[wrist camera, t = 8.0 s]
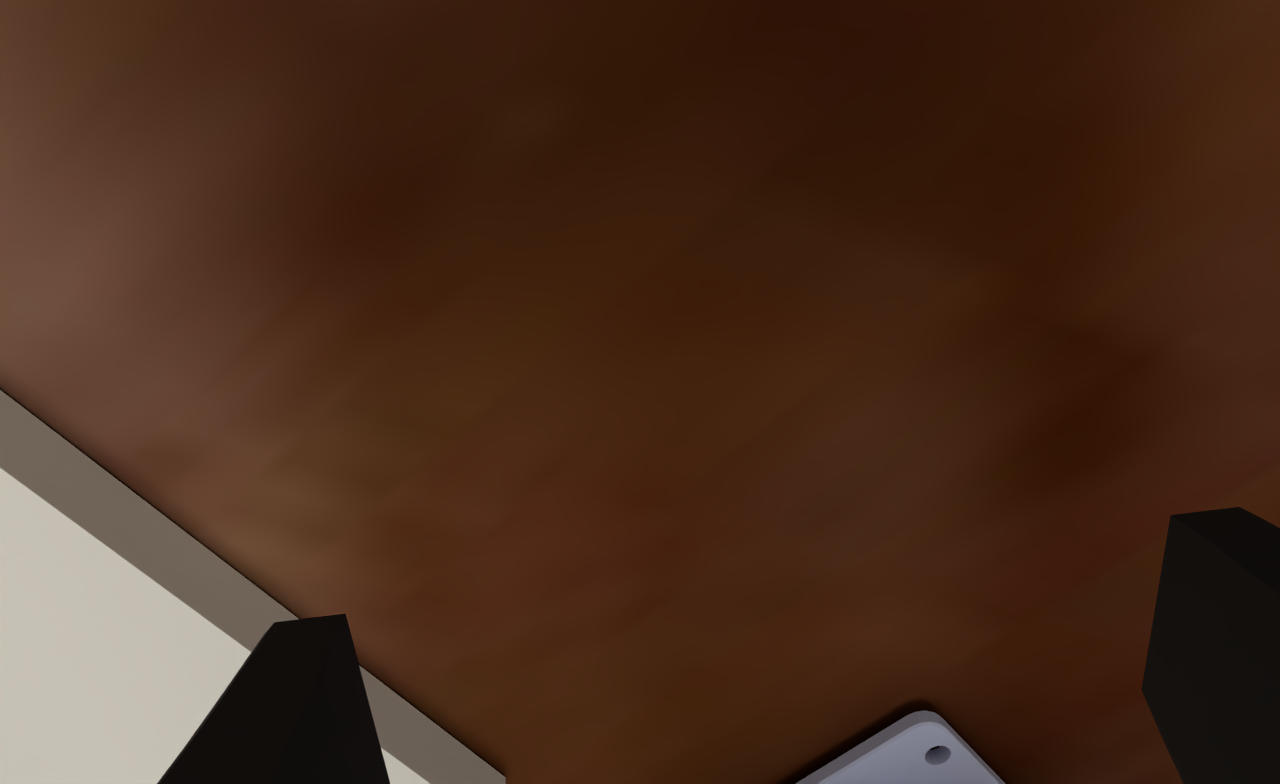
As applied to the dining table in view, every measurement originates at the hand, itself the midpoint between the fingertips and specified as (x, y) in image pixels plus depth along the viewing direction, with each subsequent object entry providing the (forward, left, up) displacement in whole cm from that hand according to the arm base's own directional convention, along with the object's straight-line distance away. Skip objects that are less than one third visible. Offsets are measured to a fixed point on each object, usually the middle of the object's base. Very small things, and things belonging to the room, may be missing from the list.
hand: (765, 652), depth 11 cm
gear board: (0, +18, -9) cm, 20 cm away
